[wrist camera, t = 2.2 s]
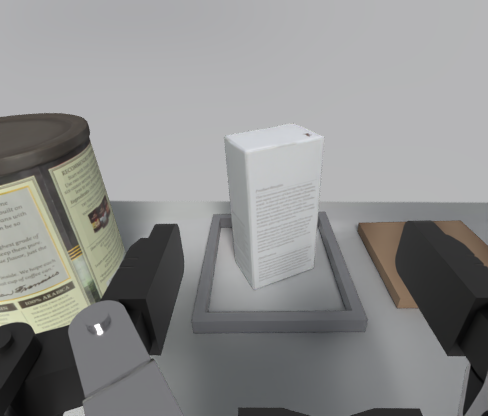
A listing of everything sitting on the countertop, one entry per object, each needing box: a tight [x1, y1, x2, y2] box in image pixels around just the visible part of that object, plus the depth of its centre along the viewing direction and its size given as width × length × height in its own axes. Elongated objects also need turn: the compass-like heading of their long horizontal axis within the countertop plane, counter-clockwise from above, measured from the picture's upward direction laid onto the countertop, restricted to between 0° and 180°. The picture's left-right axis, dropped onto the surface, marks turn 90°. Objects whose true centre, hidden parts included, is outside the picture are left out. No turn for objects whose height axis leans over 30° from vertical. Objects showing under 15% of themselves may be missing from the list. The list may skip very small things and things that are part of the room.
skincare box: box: [224, 123, 324, 290], centre depth 24 cm, size 6×4×12 cm
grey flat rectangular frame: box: [191, 212, 368, 333], centre depth 27 cm, size 12×14×1 cm
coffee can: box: [0, 113, 126, 334], centre depth 20 cm, size 10×10×14 cm
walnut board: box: [358, 221, 488, 308], centre depth 27 cm, size 10×10×1 cm
